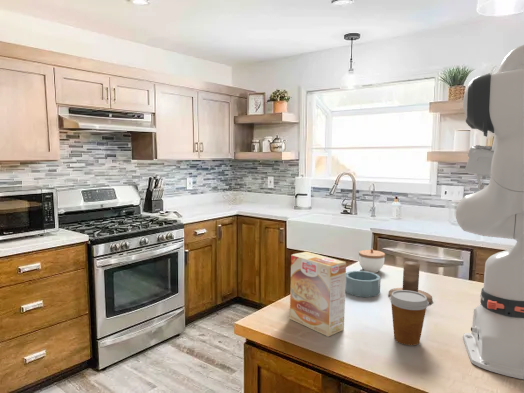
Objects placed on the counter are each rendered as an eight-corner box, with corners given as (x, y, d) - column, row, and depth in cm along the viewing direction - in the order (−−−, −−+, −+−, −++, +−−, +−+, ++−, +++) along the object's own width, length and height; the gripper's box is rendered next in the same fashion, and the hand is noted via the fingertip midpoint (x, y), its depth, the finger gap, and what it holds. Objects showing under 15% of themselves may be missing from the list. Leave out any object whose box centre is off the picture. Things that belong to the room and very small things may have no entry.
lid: (429, 309, 123) (431, 271, 121) (384, 300, 130) (385, 264, 128) (434, 295, 134) (436, 261, 133) (393, 288, 142) (394, 256, 140)
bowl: (374, 299, 130) (375, 283, 130) (340, 292, 136) (340, 277, 136) (383, 289, 141) (383, 274, 140) (350, 283, 147) (351, 269, 146)
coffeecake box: (288, 319, 114) (290, 254, 112) (305, 313, 118) (307, 250, 116) (328, 337, 102) (330, 265, 100) (344, 330, 107) (347, 261, 105)
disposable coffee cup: (402, 350, 95) (405, 304, 94) (380, 334, 105) (382, 291, 103) (434, 346, 98) (437, 300, 97) (410, 330, 107) (412, 288, 106)
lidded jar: (385, 275, 157) (386, 252, 156) (358, 273, 159) (359, 251, 159) (382, 268, 168) (383, 246, 167) (357, 266, 170) (358, 245, 169)
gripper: (469, 142, 120) (458, 185, 120) (549, 150, 108) (537, 198, 109) (471, 146, 125) (462, 187, 126) (549, 154, 113) (537, 200, 114)
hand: (497, 193), depth 117 cm, fingers open, 8 cm apart
